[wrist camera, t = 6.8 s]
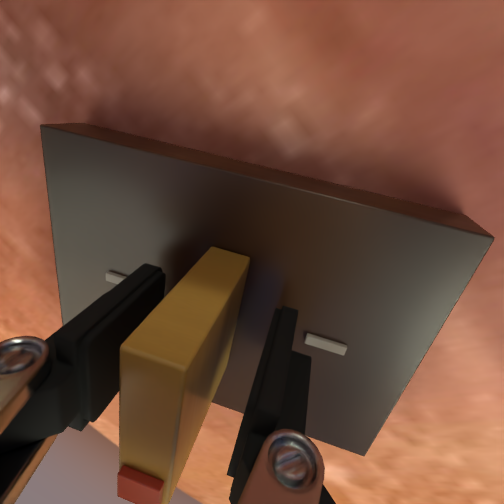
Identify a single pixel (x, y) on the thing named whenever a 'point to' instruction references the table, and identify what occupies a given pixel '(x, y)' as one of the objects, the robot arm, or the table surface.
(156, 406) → the lock knob
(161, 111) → the table surface
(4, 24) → the table surface
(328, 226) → the lock plate
